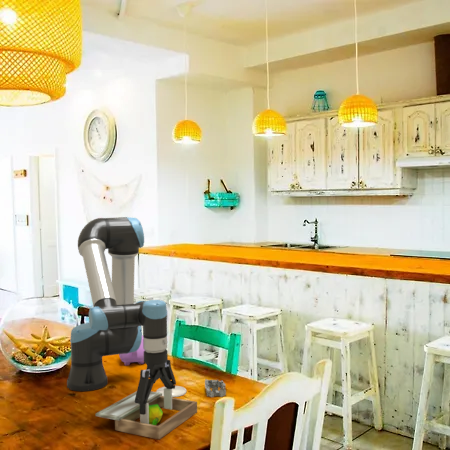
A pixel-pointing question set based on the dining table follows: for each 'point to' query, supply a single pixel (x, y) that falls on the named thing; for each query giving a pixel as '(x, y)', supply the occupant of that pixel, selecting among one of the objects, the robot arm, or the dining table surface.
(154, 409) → the green faceted lump
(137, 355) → the piggy bank
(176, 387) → the saucer
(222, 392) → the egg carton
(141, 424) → the cold frame
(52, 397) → the dining table surface
